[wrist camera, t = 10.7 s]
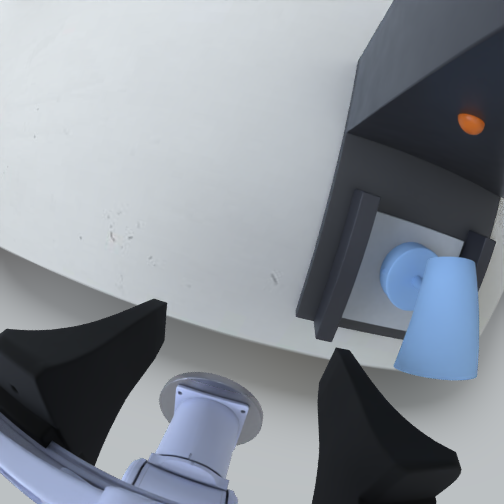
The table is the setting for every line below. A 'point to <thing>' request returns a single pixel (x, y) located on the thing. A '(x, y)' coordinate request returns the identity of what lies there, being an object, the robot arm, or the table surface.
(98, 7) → the table surface
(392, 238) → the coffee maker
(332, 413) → the robot arm
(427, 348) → the spotlight
